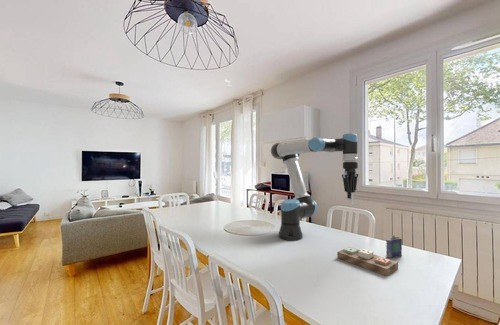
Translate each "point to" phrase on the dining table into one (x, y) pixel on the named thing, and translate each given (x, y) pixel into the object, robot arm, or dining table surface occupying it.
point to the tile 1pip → (351, 251)
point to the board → (368, 262)
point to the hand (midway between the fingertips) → (350, 204)
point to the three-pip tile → (383, 261)
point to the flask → (394, 247)
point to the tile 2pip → (366, 254)
